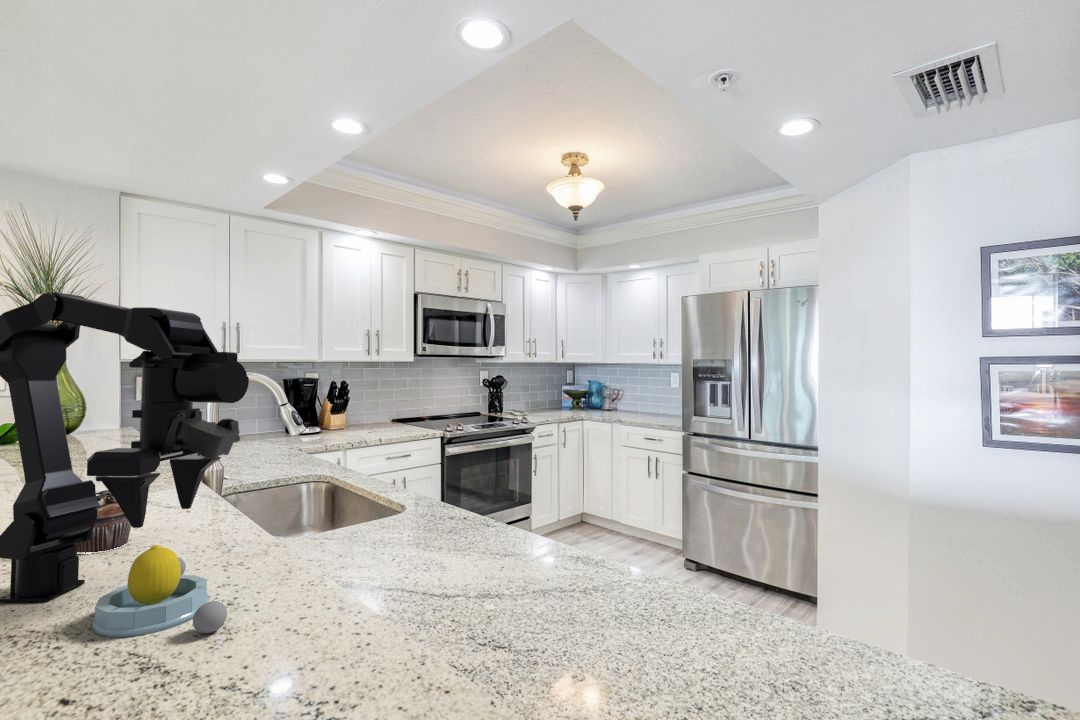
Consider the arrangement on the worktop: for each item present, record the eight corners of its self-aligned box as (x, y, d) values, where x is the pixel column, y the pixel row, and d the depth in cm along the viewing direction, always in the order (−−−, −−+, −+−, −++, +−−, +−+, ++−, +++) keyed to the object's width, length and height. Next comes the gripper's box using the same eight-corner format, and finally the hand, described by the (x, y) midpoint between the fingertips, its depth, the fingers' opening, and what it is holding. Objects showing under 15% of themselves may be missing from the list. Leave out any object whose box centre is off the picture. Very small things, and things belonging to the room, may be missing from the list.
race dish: (65, 638, 60) (66, 614, 60) (140, 594, 72) (140, 574, 72) (170, 636, 61) (170, 612, 61) (227, 593, 73) (227, 573, 73)
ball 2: (185, 639, 60) (186, 609, 60) (203, 624, 64) (204, 596, 64) (216, 638, 60) (216, 608, 60) (232, 624, 64) (233, 596, 64)
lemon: (151, 619, 63) (153, 554, 64) (115, 614, 65) (117, 550, 65) (190, 600, 69) (191, 540, 69) (156, 596, 70) (158, 537, 70)
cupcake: (146, 541, 96) (148, 487, 96) (91, 558, 86) (93, 499, 87) (106, 537, 98) (108, 484, 98) (48, 554, 89) (50, 495, 89)
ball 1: (151, 585, 76) (151, 561, 76) (167, 576, 79) (167, 553, 79) (175, 585, 76) (176, 561, 76) (190, 576, 79) (191, 553, 79)
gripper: (181, 406, 61) (176, 539, 60) (262, 399, 79) (259, 501, 79) (85, 405, 60) (79, 539, 60) (189, 398, 79) (186, 500, 78)
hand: (163, 517), depth 69 cm, fingers open, 9 cm apart
